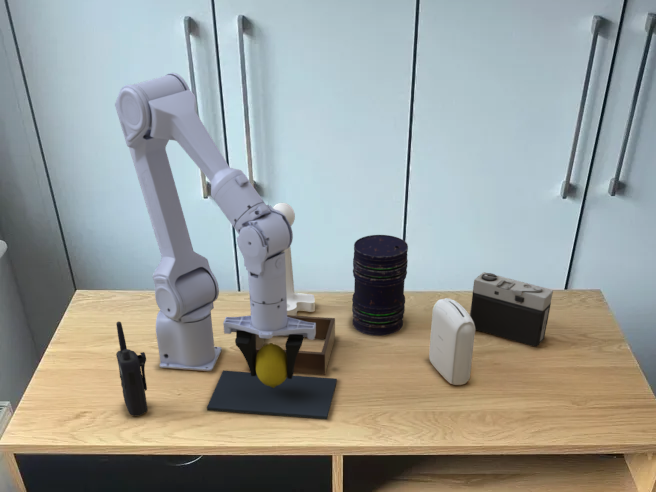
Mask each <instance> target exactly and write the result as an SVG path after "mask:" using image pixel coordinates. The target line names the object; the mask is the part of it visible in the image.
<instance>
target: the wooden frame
mask: <svg viewBox="0 0 656 492" xmlns="http://www.w3.org/2000/svg"><path fill="white" fill-rule="evenodd" d="M287 317H290V318H294V319H298V320H302V321H306V322H312V323H316V335H315V338H314V340H315V339H316V340H324V342H323V346H322V349H321V351H311V350H310V351H307V350H299V352H298V354H297V357H296V360H295V365H294V374H305V375H306V374H307V375H319V376H326V373H327V369H328V365H329V362H330V357H331V355H332V350H333V347H334V344H335V340H336V317H321V316H308V315H307V316H306V315H297V316H293V315H287ZM277 337H287V338H288V336H283V335H278V336H277ZM304 339H308V337H304ZM266 340H267V339H266V338H260V337H259V335H257V334H256V355H257V353H258V351H259V350H260V348H262V347H263V346H264V345H265V341H266ZM283 350H284V351H285V352H286V349H283ZM286 354H287V353H286Z"/></svg>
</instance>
